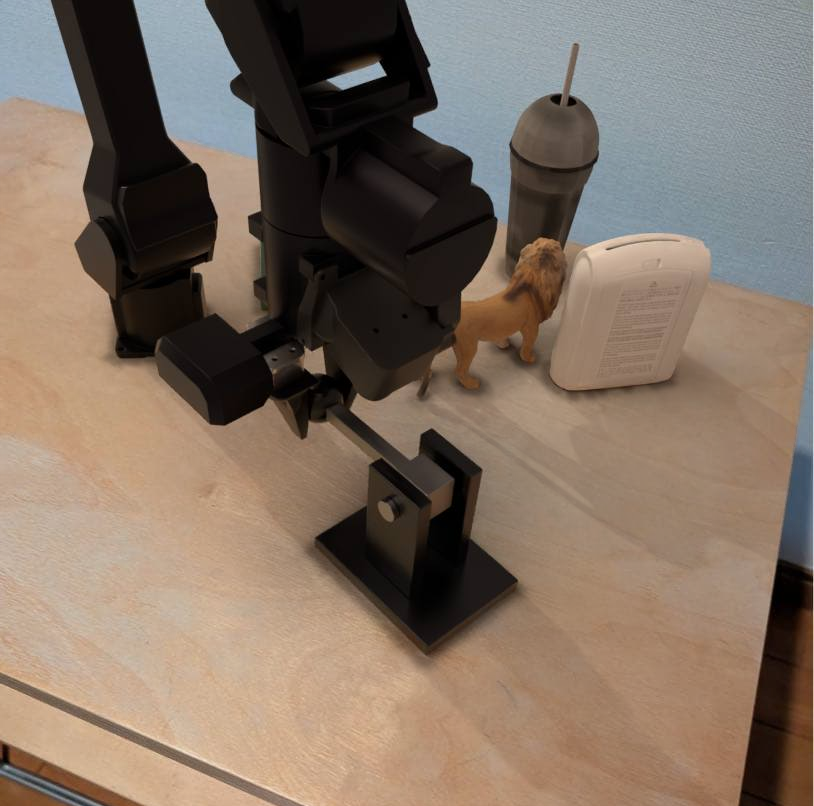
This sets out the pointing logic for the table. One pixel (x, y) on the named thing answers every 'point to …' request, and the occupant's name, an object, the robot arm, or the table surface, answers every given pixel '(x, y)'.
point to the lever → (378, 443)
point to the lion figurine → (510, 309)
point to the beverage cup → (549, 168)
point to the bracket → (419, 550)
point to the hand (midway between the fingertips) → (319, 424)
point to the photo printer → (629, 310)
